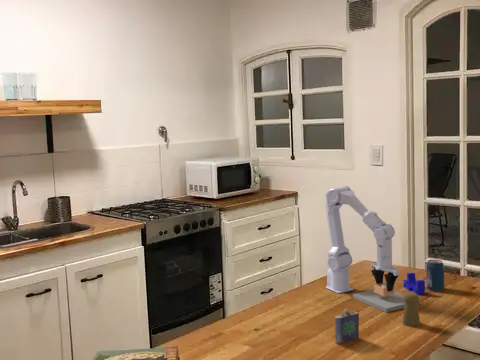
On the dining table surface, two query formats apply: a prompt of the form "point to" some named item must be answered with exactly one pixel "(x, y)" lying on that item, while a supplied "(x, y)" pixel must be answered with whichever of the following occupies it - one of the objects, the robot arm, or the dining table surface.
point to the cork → (411, 310)
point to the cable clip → (414, 284)
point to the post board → (382, 300)
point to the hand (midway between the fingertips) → (384, 289)
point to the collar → (383, 290)
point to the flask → (346, 327)
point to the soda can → (435, 275)
